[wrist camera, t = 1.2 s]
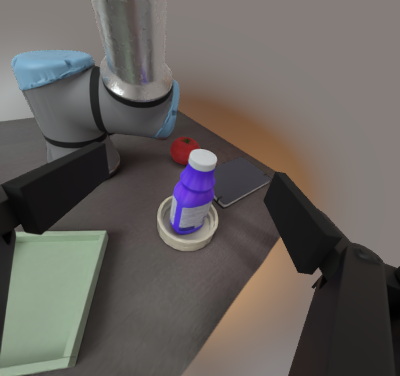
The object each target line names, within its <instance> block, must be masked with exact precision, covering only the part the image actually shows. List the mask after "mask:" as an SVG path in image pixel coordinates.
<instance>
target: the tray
mask: <svg viewBox="0 0 400 376" xmlns="http://www.w3.org/2000/svg"><path fill="white" fill-rule="evenodd" d="M108 238H109V237H108V235H107V232H106V231H46V232H44V233H43V234H42V235H36V234H30V233H25V232H16V241H15V249H14V256H13V264H12V271H11V278H10V286H9V293H8V301H7V308H6V316H5V323H4V331H3V338H2V346H1V353H0V376H24V375H30V374H35V373H41V372H47V371H53V370H58V369H64V368H70V367H75V364H76V360H77V356H78V352H79V349H80V345H81V341H82V337H83V333H84V330H85V326H86V322H87V318H88V314H89V311H90V307H91V303H92V299H93V295H94V291H95V288H96V284H97V280H98V276H99V272H100V269H101V265H102V261H103V257H104V253H105V250H106V246H107V242H108Z"/></svg>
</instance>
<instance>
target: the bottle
mask: <svg viewBox="0 0 400 376" xmlns="http://www.w3.org/2000/svg"><path fill="white" fill-rule="evenodd" d="M216 162H217V157H216V156H215V155H214V154H213V153H212V152H210V151H208V150H204V149H195V150H193V151H192V152H191V153H190V156H189V159H188V164H187V167H186V168H185V169H184V170H183V171H182V172H181V175H180V179H181V180H180V181H179V182H178V183H177V184H176V186H175V188H174V192H173V198H172V205H171V213H170V224H171V225H172V227H173V229H174V231H175V232H176V233H178V234H181V235H185V234H190V233H193V232H195V231H197V230H198V229H200V228H201V227H202V225H203V224H204V221H205V219H206V216H207V213H208V211H209V208H210V206H211V203H212V200H213V198H214V189H213V186H214V185H215V178H214V170H215V166H216Z"/></svg>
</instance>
